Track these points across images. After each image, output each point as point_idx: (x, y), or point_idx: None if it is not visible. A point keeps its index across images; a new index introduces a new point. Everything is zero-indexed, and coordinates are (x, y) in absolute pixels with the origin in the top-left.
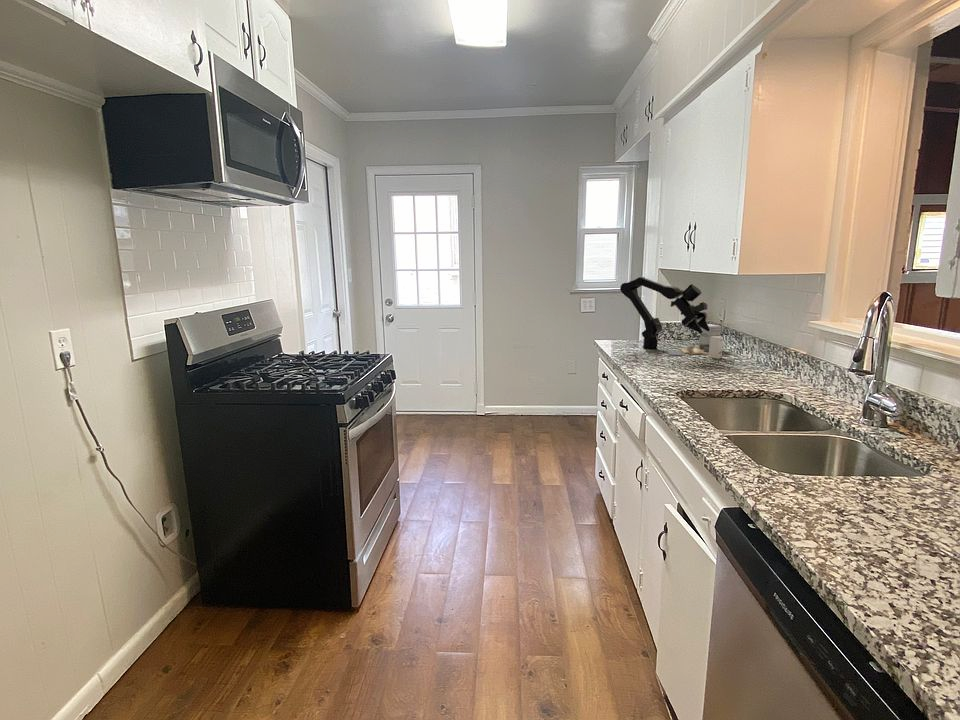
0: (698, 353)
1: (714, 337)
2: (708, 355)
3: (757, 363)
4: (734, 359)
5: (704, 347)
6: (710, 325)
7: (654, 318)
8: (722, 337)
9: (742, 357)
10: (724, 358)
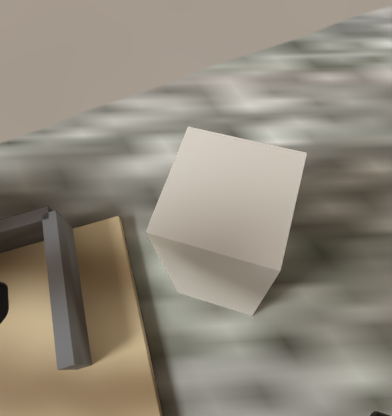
0: (160, 412)
1: (291, 214)
2: (252, 313)
3: (299, 48)
4: None
5: (76, 361)
6: None
7: None
8: (212, 134)
9: (145, 113)
10: None
